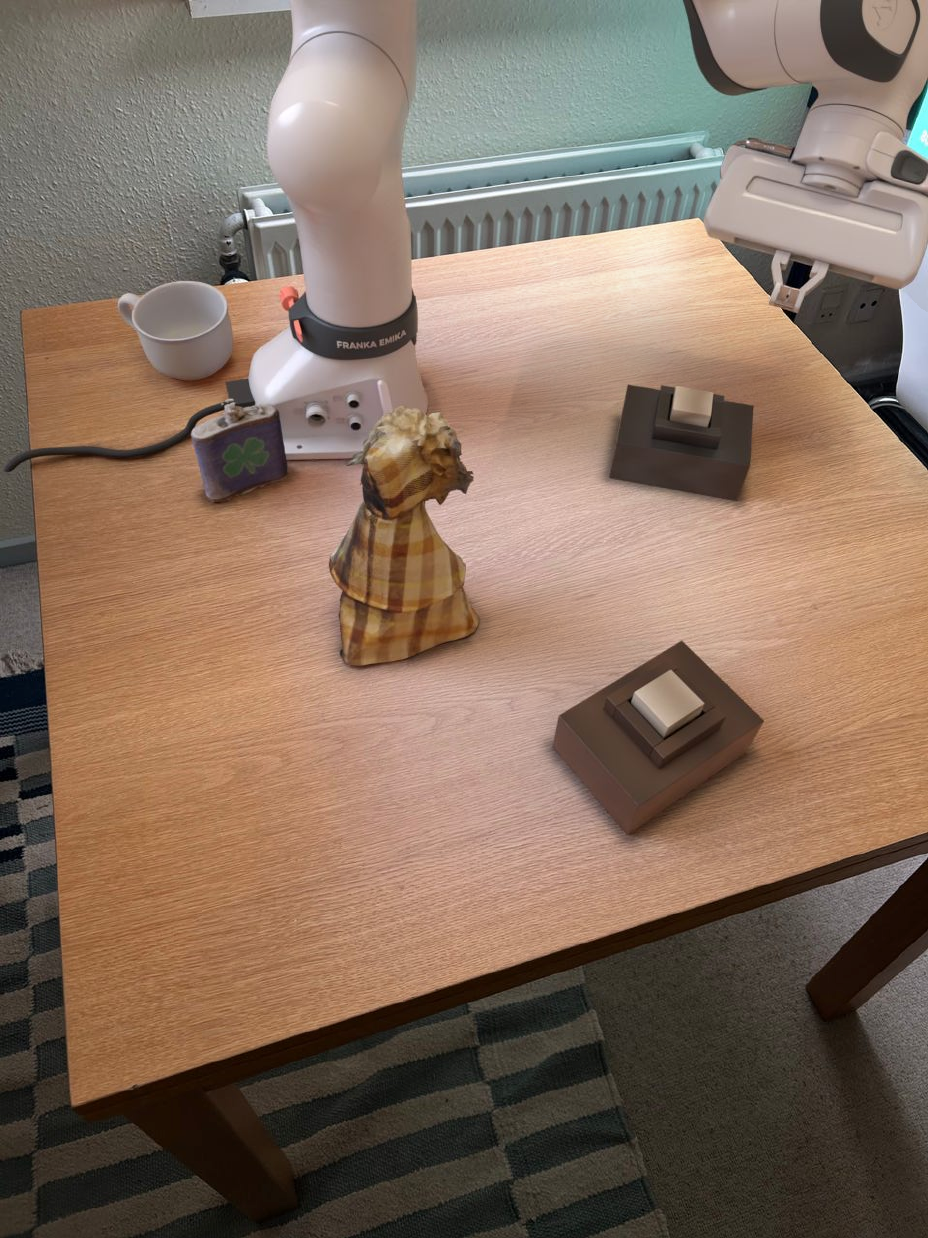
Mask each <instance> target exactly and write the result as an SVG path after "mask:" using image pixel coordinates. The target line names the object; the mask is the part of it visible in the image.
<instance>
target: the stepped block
mask: <svg viewBox="0 0 928 1238" xmlns="http://www.w3.org/2000/svg"><path fill="white" fill-rule="evenodd" d="M675 388H676V386H675V387H674V386H670V385H669V386H668V385H663V384H662V385H660V389H659V388H653V387H652V388H651V387H646V386H640V385H634V384H627V386H626V391H625V396H624V401H623V404H622V410H621V415H620V420H619V425H618V428H617V429H618V430H617V435H616V439H615V440H616V441H615V445H614V450H613V455H612V461H611V466H610V471H609V475H608V477H609V479H613V480H618V481H623V482H627V483H628V482H629V483H634V484H640V485H645V486H651V487H656V488H661V489H668V490H673V491H679V492H685V493H689V494H695V495H701V496H706V497H712V498H718V499H722V500H729V501H734V502H738V500H739V498H740V494H741V491H742V489H743V486H744V484H745V481H746V479H747V476H748V473H749V470H750V468H751V461H752V444H753V443H752V442H753V427H754V411H755V409H754V407H755V405H754V404H753V405H752V404H747V403H742V402H735V401H729V400H725V398H726V397H725V395H722V394H716V393H713V402H712V412H711V418H710V421H709V424H708V427H703V426H697V425H691V424H685V423H680V422H674V421H669V420H670V414H671V407H672V400H673V395H674V391H675Z"/></svg>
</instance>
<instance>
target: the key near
mask: <svg viewBox="0 0 928 1238" xmlns="http://www.w3.org/2000/svg"><path fill="white" fill-rule="evenodd" d="M631 704H632V705H633V706H634V708H635V709H636V710H637V711H638V712H639V713H640V714H641V715H642V716H643V717H644V718H645V719H646V720H647V721H648V722H649V724H650V725H651V726H652V727H653V728H654V729H655V730H656V731H657V732H658V733H659V734H660V735H661V736H662V737H663V738H665V737H667V736H668V735H670V734H671V733H673V732H674V731H676V730H677V729H679V728H681V727H682V726H684V725H685V724H687V723H688V722H690V721H691V720H693V719H694V718H696V717H697V716H699V715H700V713H701V711H702V708H703V706H704V702H703V701H702V700H701V699H700V698H699V697H698V696H697V695H696V694H695V693H694V692H693V691H692V690H691V689H690V688H689V687H688V686H687V685H686V684H685V683H684V682H683V681H682V680H681V679H680V678H679V677H678V676H677V675H676V674H675V673H674V672H673V671H672V670H669V671H668V672H666V673H664V674H663V675H661V676H660V677H658V678H656V679H655V680H653V681H652V682H650V683H648V684H647V685H645V686H643V687H642V688H640V689H639V690H637V691H635V692H634V695H633V698H632V701H631Z"/></svg>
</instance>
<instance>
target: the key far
mask: <svg viewBox="0 0 928 1238" xmlns="http://www.w3.org/2000/svg"><path fill="white" fill-rule="evenodd" d="M713 394H714V391H709V390H704V389H697V388H691V387H685V386H680V385H676V386H675V391H674V395H673V400H672V407H671V414H670V420H669V421H674V422H680V423H685V424H691V425H697V426H703V427H708V424H709V421H710V418H711V412H712V402H713Z"/></svg>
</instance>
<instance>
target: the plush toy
mask: <svg viewBox="0 0 928 1238" xmlns="http://www.w3.org/2000/svg"><path fill="white" fill-rule="evenodd" d="M394 411H395V412H392V413H386V414H384V415H383V416H382V418H381V419H380V420H379V421H378V422H377V423H376V424H375V426H374V427H373V428H372V430H371V431H370V433H369V435H368V440H367V442H366V444H365V445H364V449H363V451H361V452H360V453H358V454H355V455H353V457H352V458H351V460H349V461H347V462H345V463H344V465H345V466H346V467H350V466H354V465H363V466H362V470H361V477H360V483H359V485H360V486H362V487H361V488H362V489H361V490H362V499H363V501H362V502H361V503H360V504H359V506H358V509H357V511H356V514H355V516H354V519H353V521H352V523H351V525H350V527H349V528H348V530H347V532H345V534H344V536H343V538H342V540H341V541H340V543H339V544H338V545H337V546H336V548H335V549H334V551H333V552H332V553H331V554H330V555H329V559H328V560H329V561H328V569H329V574H330V575H331V578H332V579H333V582H334V583H335V584H336V586H337V587H338V588H339V589H340V590H341V595H340V599H339V610H338V611H339V612H338V619H339V629H340V641H341V647H342V649H341V650H340V651H339V657H341V659H343V662H344V664H345V665H351V666H354V667H355V666H360V667H361V666H366V665H370V664H379V663H388V662H395V661H399V660H405V659H408V658H411V657H414V656H416V655H417V654H420V653H422V652H424V651H427V650H429V649H433V648H434V647H436V646H439V645H440V644H444V643H447V642H453V641H456V640H460V639H462V638H463V639H464V638H465V637H468V636H470V635H471V634H474V633H476V631H477V628H478V627H479V624H480V621H481V617H480V616H479V614H478V612H476V611H475V609H474V608H473V607H472V606H471V603H470V601H469V598H468V595H467V593H466V591H465V588H464V586H465V580H466V574H467V564H466V563H465V562H464V561H463V558H462V557H461V556H460V555H459V554H457V553H456V552H455V551H454V550H452V549H451V548H450V546H448V544H447V543H446V542H445V540H443V538H442V537H441V535H440V533H439V532H438V530H437V528H436V527H435V525H434V523H433V521H432V519H431V517H430V515H429V514H428V511H427V508H426V502H428V501H430V500H435V501H436V502H437V504H438V505H439V506H441V505H443V504H444V502H445V501H446V499H447V498H448V496H449V494H450V492H453V491H460V492H462V494H464V495H467V493H468V489H469V487H470V485H471V484H472V483H473V482H474V478H475V476H474V472H473V470H468V469H467V466H466V465H465V464H464V463H463V461H461V456H462V455H463V453H462V443H461V442H460V440H459V438H458V434H457V430H456V429H454V428H453V427H452V426H451V425H449V421H448V420H447V419H446V418H444V416H443V413H442V411H438V412H432V413H430V414H428V415H427V413H426V415H425V416H424V413H423V412H422V411H421V410H419V409H416V408H415V409H412V410H410V409H408V408H407V407H405V406H399V407H397V408H396V409H394Z"/></svg>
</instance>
